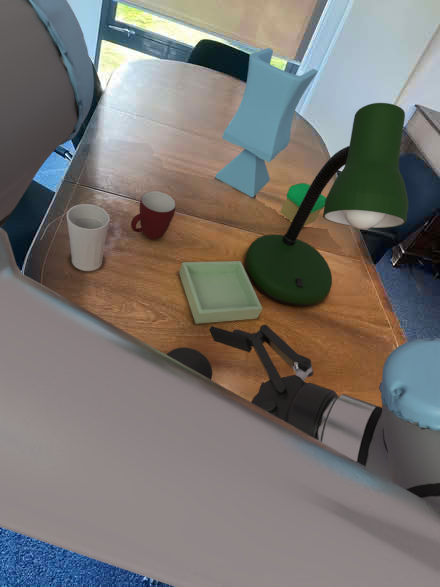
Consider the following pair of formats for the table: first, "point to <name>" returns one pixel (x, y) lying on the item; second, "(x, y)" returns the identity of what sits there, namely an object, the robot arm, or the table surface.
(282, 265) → the desk lamp
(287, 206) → the cake
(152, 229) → the mug
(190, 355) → the jar
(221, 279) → the tray
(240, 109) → the planter
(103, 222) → the cup
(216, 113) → the table surface
